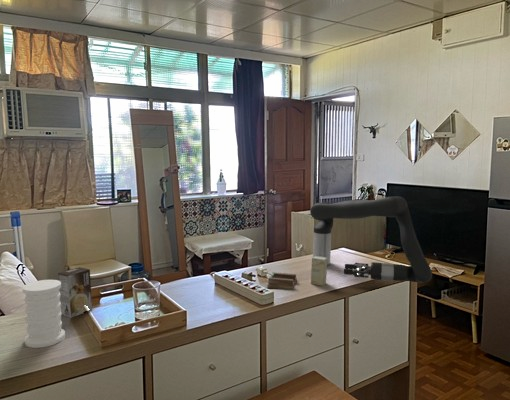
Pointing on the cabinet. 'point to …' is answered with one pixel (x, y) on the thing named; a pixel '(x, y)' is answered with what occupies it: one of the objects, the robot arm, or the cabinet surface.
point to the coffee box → (75, 291)
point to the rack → (282, 281)
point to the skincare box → (319, 270)
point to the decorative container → (43, 313)
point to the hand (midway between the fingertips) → (344, 268)
